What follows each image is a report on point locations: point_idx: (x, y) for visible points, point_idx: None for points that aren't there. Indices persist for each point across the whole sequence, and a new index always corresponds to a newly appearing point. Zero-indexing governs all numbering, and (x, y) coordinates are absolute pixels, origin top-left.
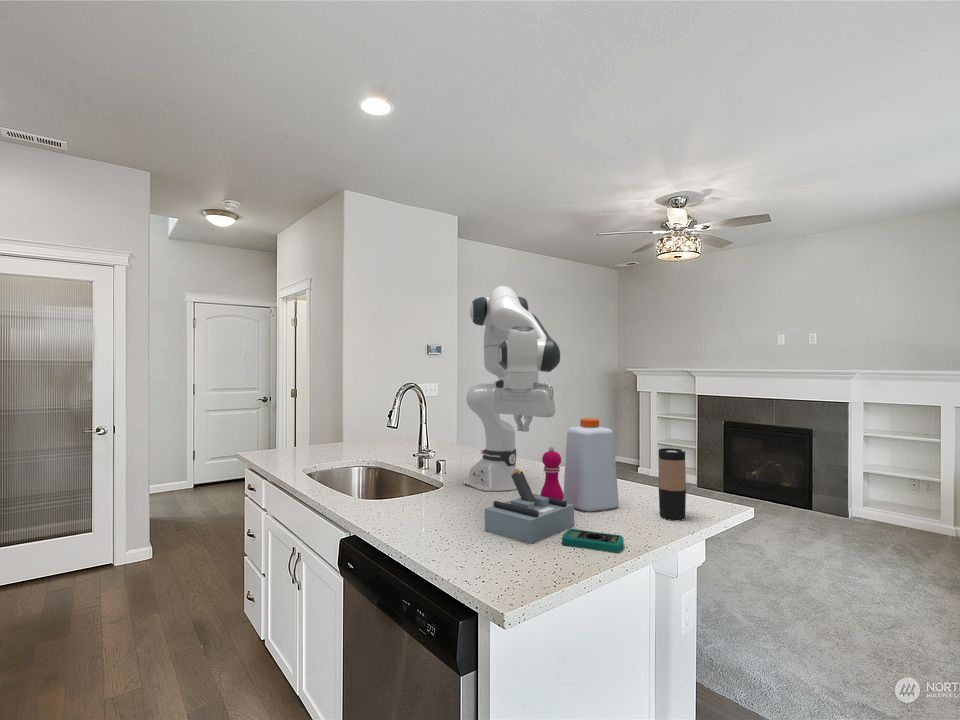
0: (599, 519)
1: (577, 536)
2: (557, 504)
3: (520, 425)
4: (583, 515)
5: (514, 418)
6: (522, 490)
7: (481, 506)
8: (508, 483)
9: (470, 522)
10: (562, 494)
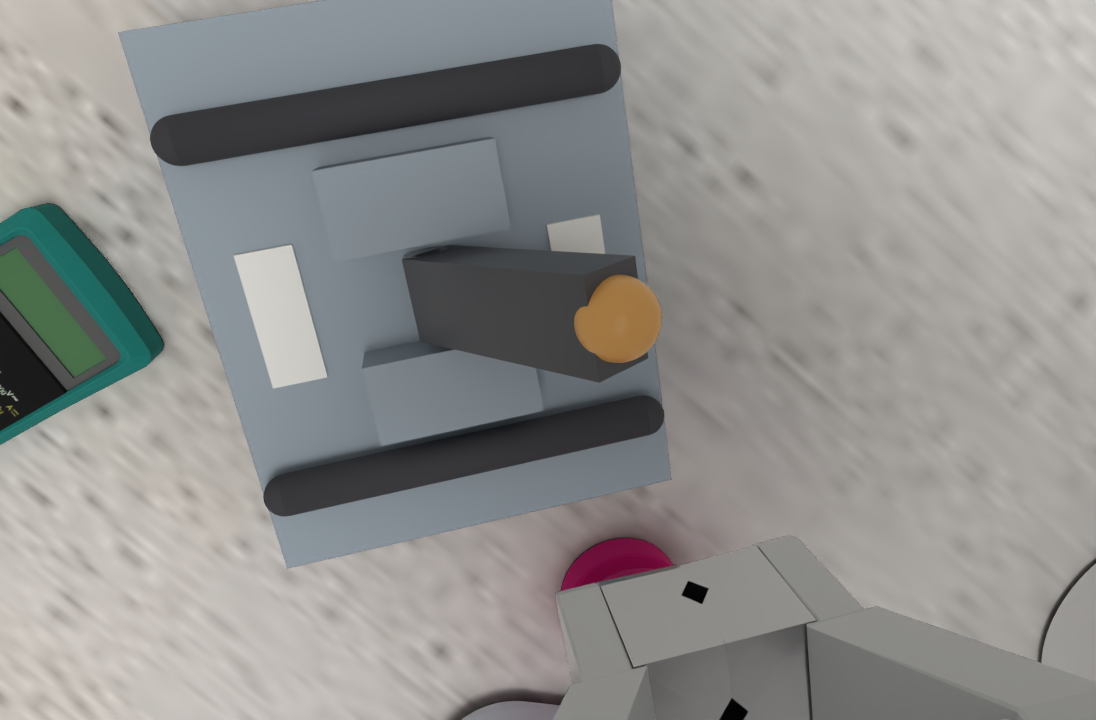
0: (316, 684)
1: (6, 309)
2: (330, 464)
3: (749, 635)
4: (427, 662)
5: (1092, 701)
6: (474, 261)
7: (952, 294)
8: (1092, 647)
9: (759, 16)
10: None
